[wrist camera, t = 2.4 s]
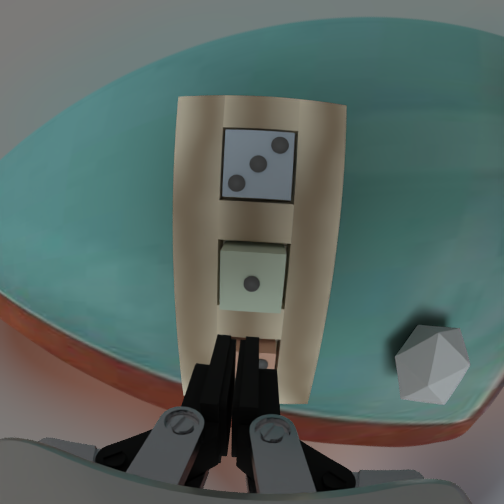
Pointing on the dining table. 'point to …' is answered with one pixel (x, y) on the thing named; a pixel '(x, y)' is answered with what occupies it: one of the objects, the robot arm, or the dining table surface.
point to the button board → (257, 229)
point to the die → (431, 364)
